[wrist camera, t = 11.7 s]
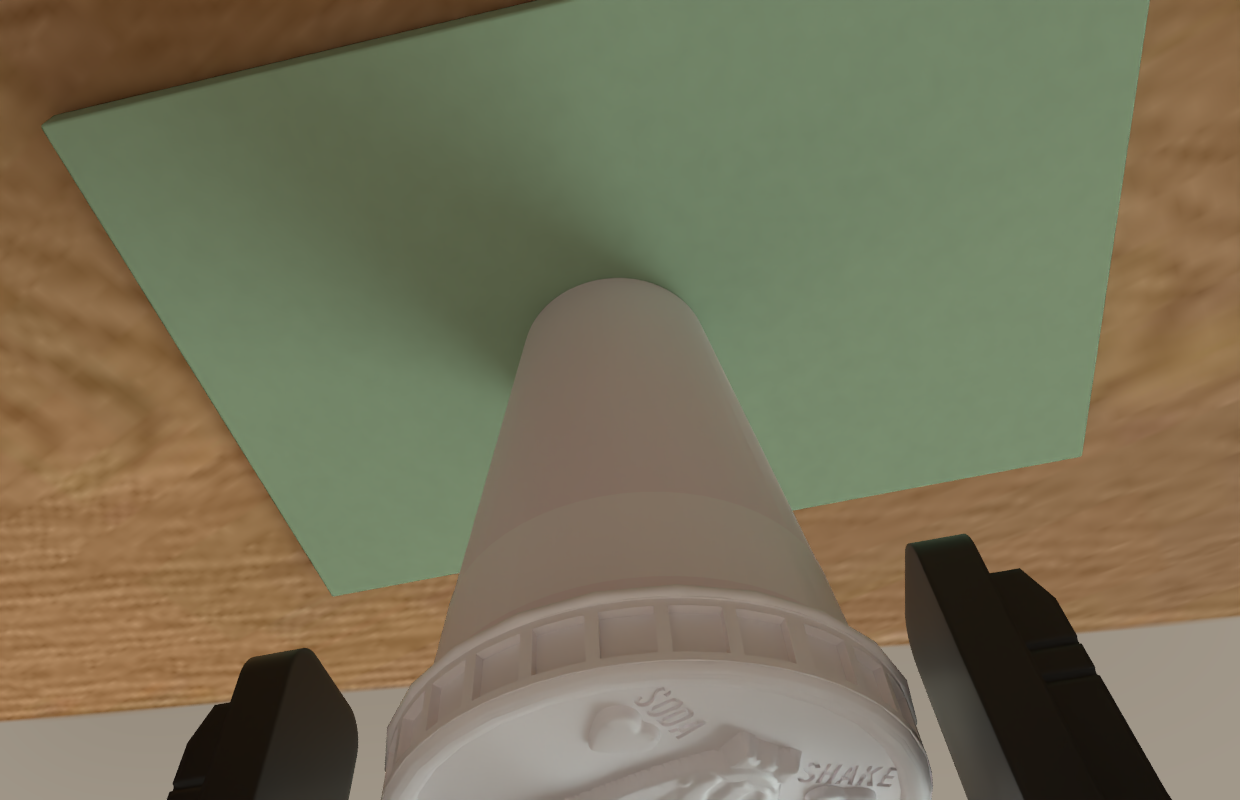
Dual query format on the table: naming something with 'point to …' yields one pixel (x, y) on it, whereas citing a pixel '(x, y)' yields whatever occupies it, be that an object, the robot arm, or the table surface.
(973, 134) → the mat
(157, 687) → the table surface
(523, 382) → the smoothie
